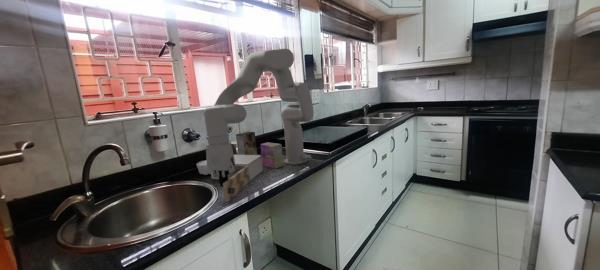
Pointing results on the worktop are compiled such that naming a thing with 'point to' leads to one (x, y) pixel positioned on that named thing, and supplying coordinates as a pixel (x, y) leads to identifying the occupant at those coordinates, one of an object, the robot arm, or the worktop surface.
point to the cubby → (245, 160)
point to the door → (236, 183)
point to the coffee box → (246, 143)
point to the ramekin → (203, 168)
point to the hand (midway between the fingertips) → (224, 185)
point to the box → (272, 155)
